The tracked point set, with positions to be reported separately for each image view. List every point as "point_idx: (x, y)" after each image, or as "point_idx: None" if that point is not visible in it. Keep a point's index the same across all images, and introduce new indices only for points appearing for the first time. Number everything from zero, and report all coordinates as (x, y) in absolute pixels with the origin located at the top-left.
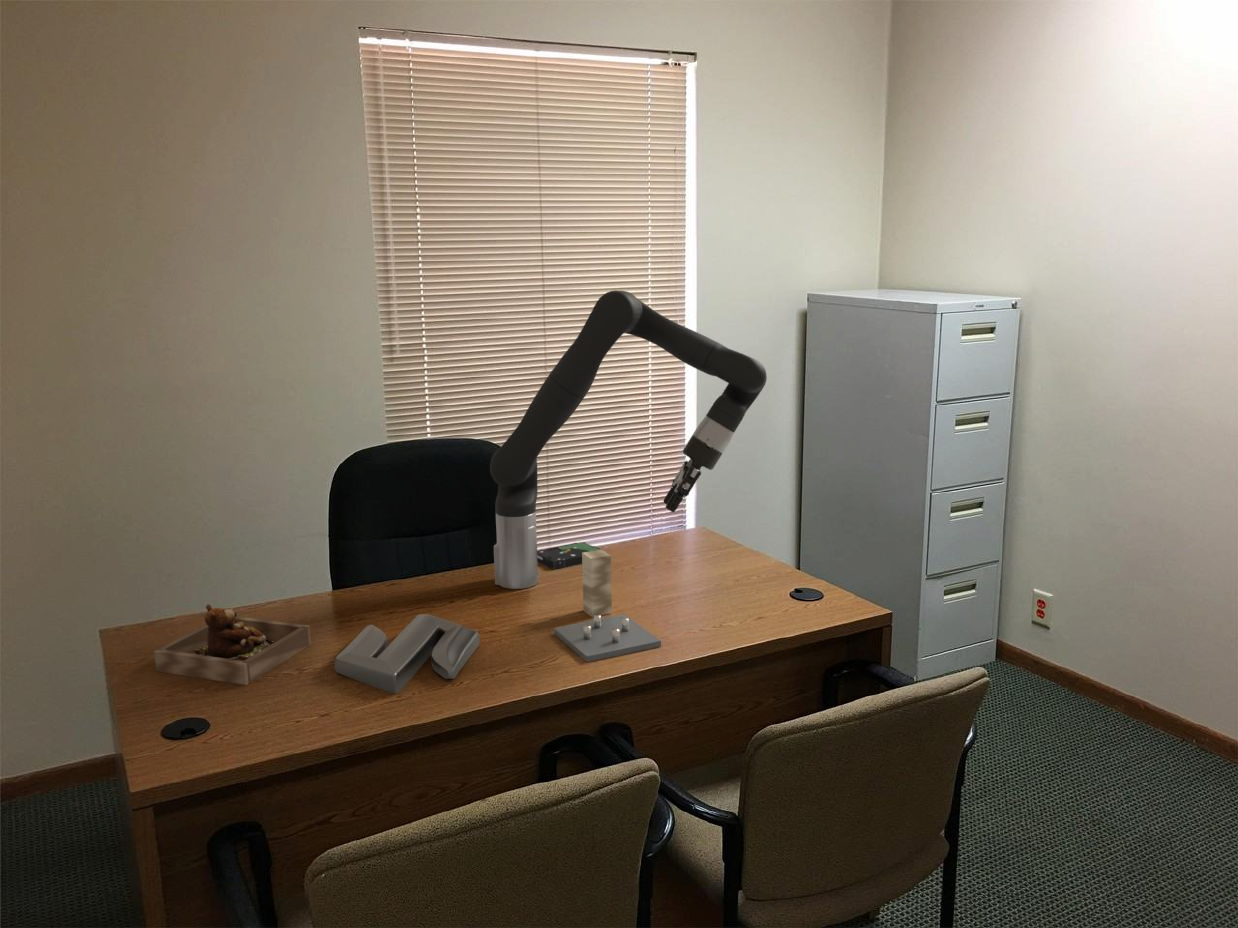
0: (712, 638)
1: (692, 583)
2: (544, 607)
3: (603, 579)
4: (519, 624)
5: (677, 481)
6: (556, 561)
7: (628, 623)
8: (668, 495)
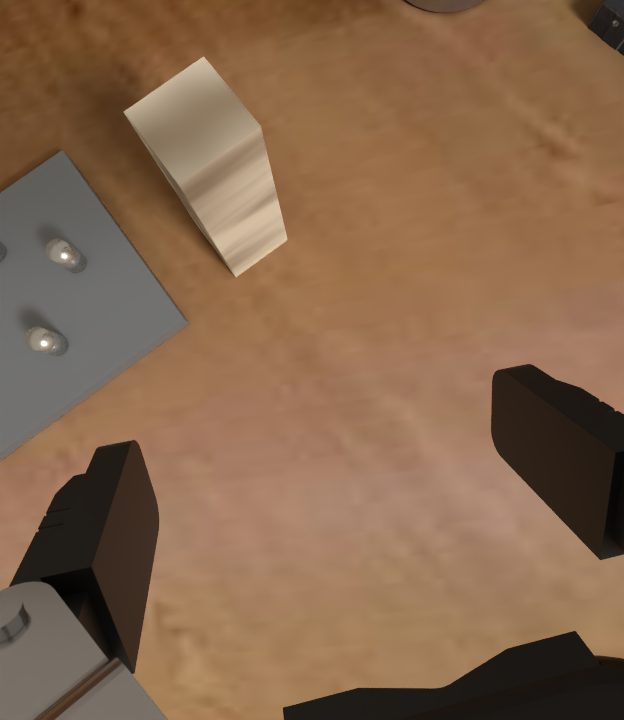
0: None
1: None
2: (257, 85)
3: (188, 206)
4: (126, 58)
5: (69, 698)
6: (609, 8)
7: (39, 351)
8: (543, 414)
